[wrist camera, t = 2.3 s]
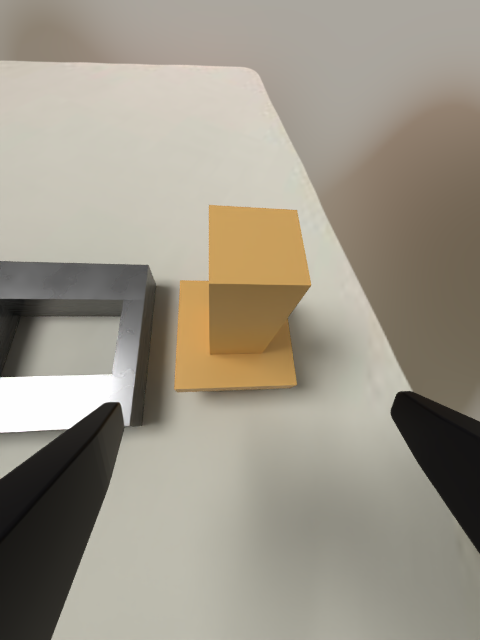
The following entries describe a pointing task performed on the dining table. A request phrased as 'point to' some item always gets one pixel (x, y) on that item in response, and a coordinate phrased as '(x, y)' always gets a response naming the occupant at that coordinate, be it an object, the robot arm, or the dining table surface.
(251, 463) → the dining table surface
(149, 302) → the grey metal plate
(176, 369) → the orange post
